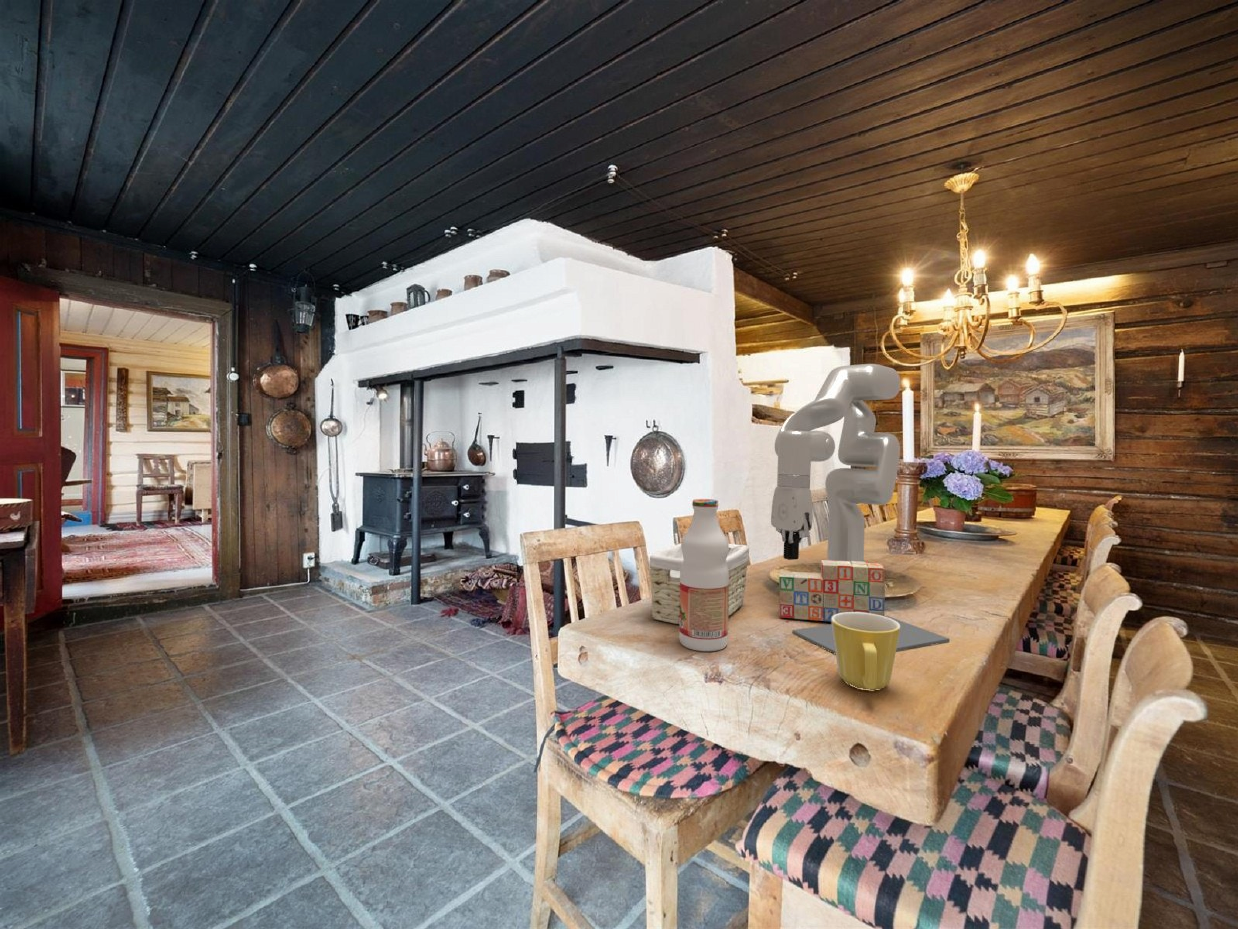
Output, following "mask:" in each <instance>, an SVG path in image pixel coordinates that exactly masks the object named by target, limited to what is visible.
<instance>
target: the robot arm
mask: <svg viewBox="0 0 1238 929" xmlns="http://www.w3.org/2000/svg"><path fill="white" fill-rule="evenodd" d="M901 385H902V382H901V377H900V374H899V373H898V371H897V370H896V369H894V368H893V367H889V366H884V365H882V364H878V363H877V364H876V363H863V364H862V363H861V364H852V365H850V364H849V365H848V364H847V365H840V366H838V367H835V368H833V369H831V371H830V372H829V373H828V374H827V376H826V378H825V380H824V382H823V384H822V385H821V387H820V389H819V391H818V393H817V395H816V397H815V399H814V400H813V401H811V402H809V403H807V404H805V405H804V406H802V407H801V408H799V409H798V410H796V411H795V412H793V413H792V414H790V415H789V416H788V417H787V419H785V420H784V422H783V424H782V426H781V427H780V429H779V431H778V433H777V435H776V438H775V441H774V452H775V454H776V456H777V473H776V474H777V478H776V486H775V488H774V492H773V496H772V505H771V511H770V513H771V514H770V524H771V526H772V527H773V528H775V531H776V532H778V533H779V534H780V535H781V540H782V542H783V559H785V560H788V561H792V560H798V559H799V555H800V554H799V553H800V552H799V551H800V544H801V542H802V540H803V538H809V537H810V531H811V530H812V527H813V519H814V518H813V516H814V515H813V514H814V513H813V499H812V498H813V496H812V491H811V487H810V486H811V471H812V470H811V466H812V465H811V464H812V462H813V463H814V462H816V463H817V462H818V463H819V462H825V461H828V460H829V459H830V458H832V457H833V455H834V453H835V449H836V442H835V439H834V438H833V436H832V435H831V434H830V433H828V432H827V431H826V432H825V431H823V430H822V431H821V430H816V429H819V428H823V427H827V426H830V425H832V424H834V423H837V422H839V421H841V420H842V419H843V423H842V430H841V434H840V438H839V445H838V450H837V456H838V457H837V458H838V461H839V462H840V463H842V464H843V465H846V466H851V467H850V468H849V467H840V468H835V469H833V470H831V471H830V472H829V473H828V474H827V475H826V477H825V484H824V485H825V492H826V497H827V498H826V499H827V506H828V508H827V509H828V510H827V512H828V517H827V518H828V521H827V523H828V524H827V558H826V560H828V561H849V562H850V561H860V562H865V561H864V560H865V526H866V520H865V519H866V518H865V516H864V513H863V511H862V510H861V508H860V506H859V505H858V504H861V505H863V504H864V505H876V506H877V505H878V506H883V505H887V504H889V503H890V502H891V500H892V498H893V495H894V491H895V486H896V480H897V474H898V469H899V464H900V456H901V447H900V446H901V445H900V441H899V439H898V437H896V435H894V434H892V433H889V432H875V431H876V430H875V429H876V423H877V419H876V415H875V414H874V412H873V411H872V409H871V408H870V407H869V406H868V405H867V404H866V403H865V401H877V400H878V401H879V400H883V401H884V400H892V399H893V398H896V396H897V395H898V394H899V392H900V390H901ZM852 467H866V468H867V467H869V468H867V469H866V468H852ZM870 468H875V469H870ZM819 567H821V562H819Z"/></svg>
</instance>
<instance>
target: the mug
mask: <svg viewBox="0 0 1238 929" xmlns="http://www.w3.org/2000/svg"><path fill="white" fill-rule="evenodd" d="M884 616H885V615H884ZM884 616H880V615H876V614H870V613H862V612H844V613H838V614H835V615H834V616H832V618H831V621H830V623H831V624H832V631H833V638H834V645H835V652H836V655H835V657H836V665H837V666H836V668H837V672H838V674H839V676H840V677H841V679H842V680H843V681H844V682H845V683H846V682H847V683H848V684H851V685H853V686H855V687H857V688H863V689H870V690H876V689H881V688H883V689H884V688H885V687H886V686H888V685H889V683H890V682H891V680H892V675H893V674H892V673H893V668H894V663H895V657H896V653H897V651H896V649H897V644H898V638H899V632H900V624H899V623H898V622H896V621H895V620H892V619H890V618H887V617H884ZM848 684H847V685H848ZM881 690H882V689H881Z"/></svg>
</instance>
